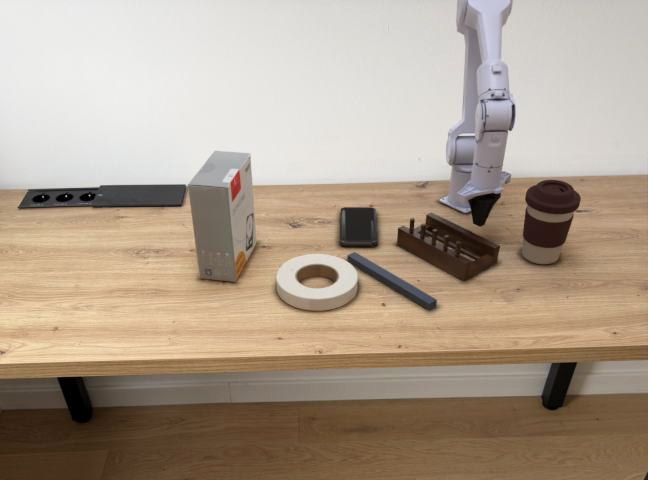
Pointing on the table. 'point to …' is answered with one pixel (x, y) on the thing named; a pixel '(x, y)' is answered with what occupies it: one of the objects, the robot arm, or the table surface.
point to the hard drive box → (223, 215)
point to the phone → (358, 227)
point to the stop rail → (392, 281)
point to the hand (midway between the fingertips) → (478, 224)
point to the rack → (450, 237)
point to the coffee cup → (548, 220)
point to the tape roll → (317, 297)
